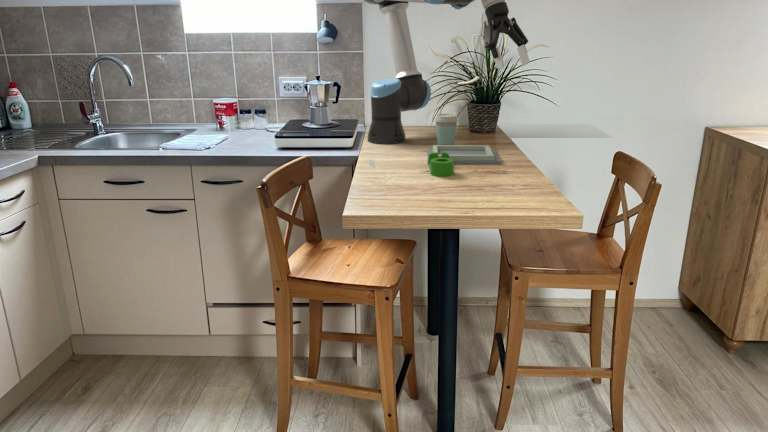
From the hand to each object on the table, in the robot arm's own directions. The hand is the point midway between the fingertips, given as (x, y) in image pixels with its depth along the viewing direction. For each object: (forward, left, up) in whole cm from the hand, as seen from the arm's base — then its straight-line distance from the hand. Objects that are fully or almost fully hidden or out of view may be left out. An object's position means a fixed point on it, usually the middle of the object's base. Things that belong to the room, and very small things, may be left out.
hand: (513, 65), depth 197 cm
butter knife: (-46, -22, -31) cm, 59 cm away
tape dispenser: (-25, -24, -31) cm, 46 cm away
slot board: (-17, -5, -30) cm, 35 cm away
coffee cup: (-22, +12, -31) cm, 40 cm away
